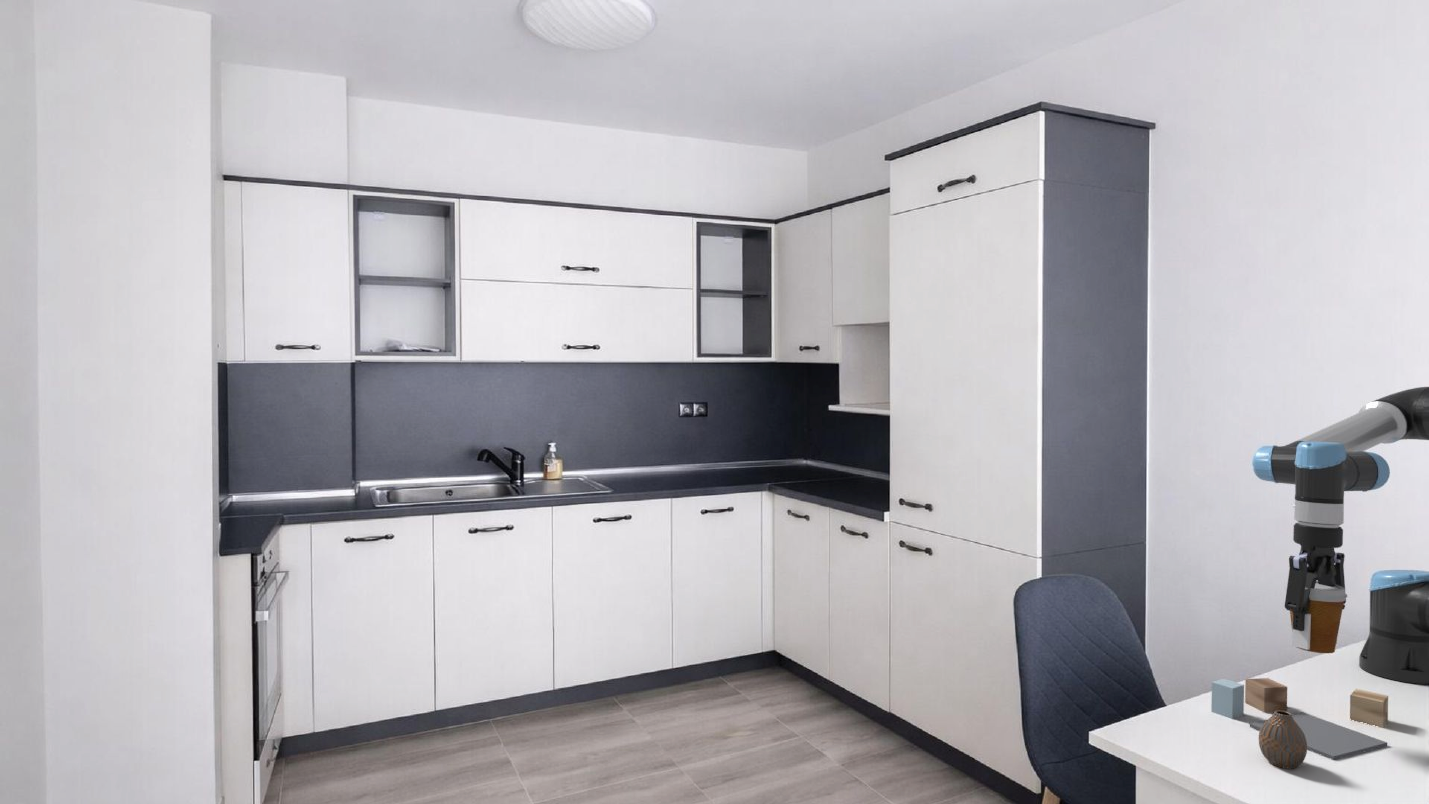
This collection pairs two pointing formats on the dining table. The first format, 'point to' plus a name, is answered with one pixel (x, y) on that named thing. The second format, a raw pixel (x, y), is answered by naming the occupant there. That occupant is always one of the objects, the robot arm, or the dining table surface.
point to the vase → (1282, 740)
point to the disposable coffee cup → (1324, 617)
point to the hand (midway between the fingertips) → (1314, 644)
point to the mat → (1331, 737)
